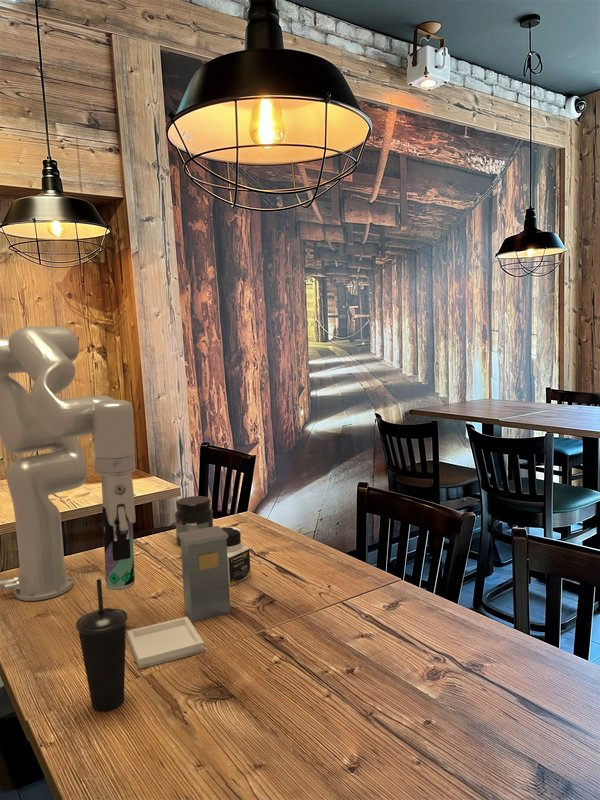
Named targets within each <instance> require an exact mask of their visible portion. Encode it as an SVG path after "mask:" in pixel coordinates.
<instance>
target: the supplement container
mask: <svg viewBox="0 0 600 800" xmlns="http://www.w3.org/2000/svg"><path fill="white" fill-rule="evenodd" d="M175 509H176V511H175V513H174V517H175V533H176V534H175V535H176V537H175V539H176V542H177V544H178V545H180V546H181V540H180V538H179V537H178V533H180V532H186V531H191V530H197V529H202V528H208V527H214V523H213V522H214V521H213V520H214V519H213V517H214V516H213V514H214V513H213V508H211V499H210V498H209V497H208V496H205V495H204V496H203V495H202V496H201V495H194V496H192V495H191V496H185V497H181V498H180V499H177V500H176V502H175Z"/></svg>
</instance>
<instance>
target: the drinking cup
mask: <svg viewBox="0 0 600 800" xmlns="http://www.w3.org/2000/svg"><path fill="white" fill-rule="evenodd" d="M102 585H103V583H102V579H101V578H98V579H96V589H97V604H98V609H95V610H93V611H90V612H88V613H86V614H84V615H82V616H81V617H79V618H78V620H77V621H76V623H75V629H76V631H77V632H78V636H79V641H80V642H79V643H80V647H81V653H82V657H83V662H84V670H85V673H86V681H87V685H88V686H87V687H88V690H89V695H90V702H91V706H92V709H93V710H94V711H97V712H110V711H112V710H115V709H117V708H119V707H120V706H121V705H122V704H124V701H125V684H126V682H125V680H126V676H125V675H126V673H125V672H126V635H127V634H126V631H127V629H126V628H127V621H128V613H127V612H126V611H124V610H123V609H119V608H112V607H111V608H109V607H105V608H104V601H103V599H104V598H103V588H102Z"/></svg>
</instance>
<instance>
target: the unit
mask: <svg viewBox="0 0 600 800" xmlns="http://www.w3.org/2000/svg"><path fill="white" fill-rule="evenodd" d="M221 528H222V527H220V526H219V525H215V526H214V525H213V527H208V528H202V529H197V530H191V531H186V532H180V533H178V537H179V538H180V540H181V545H180V553H181V554H180V555H181V569H182V585H183V586H182V587H183V605H184V612H185V613H186V614H187V617H188V619H189V620H190V622H191V623H196V622H200V621H204V620H208V619H211V618H217V617H219V616H224V615H228V614H231V603H230V601H231V599H230V598H231V597H230V586H229V578H228V559H227V541H226V538H228V534H227V533H226V532H225V531H224V530H222V529H221Z"/></svg>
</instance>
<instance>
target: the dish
mask: <svg viewBox="0 0 600 800" xmlns="http://www.w3.org/2000/svg"><path fill="white" fill-rule="evenodd" d="M126 631H127V634H126V635H127V641H128V643H129V646H130V649H131V651H132V654H133V656H134V659H135V661H136V664H137V667H138V669H139V670H141V669H145V668H149V667H154V666H156V665H160V664H164V663H168V662H172V661H174V660H175V661H176V660H179V659H183V658H186V657H189V656H194V655H197V654H202V653H205V642H204V640H203V639H202V637H201V636H200V634H199V632H198V631H197V629H196V628H195V627H194V625H193V622H192V621H191V619H190V618H189V616H183V617H180V618H176V619H172V620H167V621H163V622H159V623H154V624H149V625H147V626H142V627H137V628H135V629H129V630H126Z"/></svg>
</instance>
